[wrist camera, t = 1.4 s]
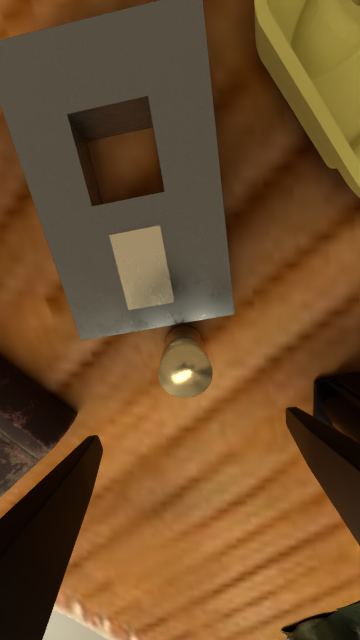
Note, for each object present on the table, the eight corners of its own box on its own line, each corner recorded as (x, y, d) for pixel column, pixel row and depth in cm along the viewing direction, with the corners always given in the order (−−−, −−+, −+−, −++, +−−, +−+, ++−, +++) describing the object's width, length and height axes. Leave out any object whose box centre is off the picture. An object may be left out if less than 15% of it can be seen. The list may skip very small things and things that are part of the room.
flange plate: (227, 308, 18) (235, 314, 15) (94, 331, 18) (79, 341, 16) (197, 43, 13) (201, -16, 10) (16, 86, 13) (-24, 41, 11)
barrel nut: (204, 357, 19) (215, 393, 13) (168, 363, 19) (164, 401, 14) (199, 322, 18) (208, 345, 12) (161, 329, 18) (153, 354, 13)
